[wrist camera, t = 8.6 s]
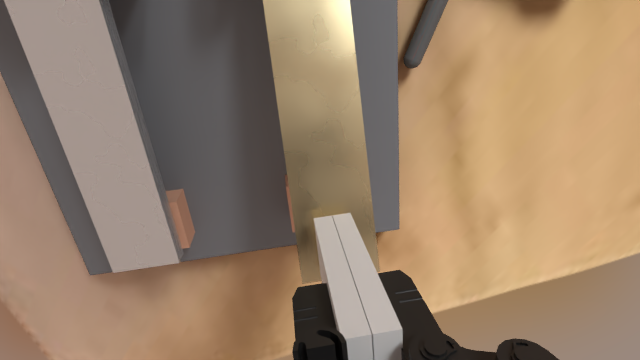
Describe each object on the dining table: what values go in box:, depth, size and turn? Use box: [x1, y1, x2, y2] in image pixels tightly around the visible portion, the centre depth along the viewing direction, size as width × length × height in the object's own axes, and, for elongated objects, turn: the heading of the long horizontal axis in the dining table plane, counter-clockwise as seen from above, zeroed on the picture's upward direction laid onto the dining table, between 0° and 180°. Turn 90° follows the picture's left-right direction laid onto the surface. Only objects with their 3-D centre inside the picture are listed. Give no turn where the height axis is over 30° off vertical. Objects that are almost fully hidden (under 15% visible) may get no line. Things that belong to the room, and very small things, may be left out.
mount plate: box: [0, 0, 399, 275], centre depth 19 cm, size 20×20×6 cm
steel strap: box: [4, 0, 184, 273], centre depth 17 cm, size 16×4×2 cm, turn 6°
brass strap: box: [263, 0, 380, 284], centre depth 16 cm, size 16×4×2 cm, turn 6°
